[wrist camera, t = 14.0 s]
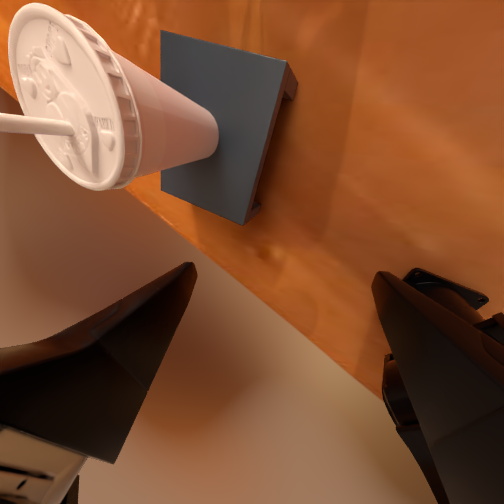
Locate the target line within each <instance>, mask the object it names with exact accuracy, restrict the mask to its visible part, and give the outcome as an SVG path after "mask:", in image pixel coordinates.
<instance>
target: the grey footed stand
mask: <svg viewBox="0 0 504 504" xmlns="http://www.w3.org/2000/svg"><path fill="white" fill-rule="evenodd" d="M161 82H163V83H165V84H166V85H168V86H169V87H171V88H172V89H174V90H176V91H177V92H179V93H180V94H182V95H184V96H185V97H187V98H188V99H190V100H192V101H193V102H195V103H196V104H198V105H200V106H201V107H203V108H204V109H206V110H207V111H209V112H210V113H211V114H212V116H213V117H214V119H215V121H216V123H217V126H218V131H219V140H218V145H217V148H216V150H215V151H214V153H213V154H212V155H211V156H209V157H207V158H204V159H200V160H197V161H193V162H189V163H186V164H182V165H179V166H175V167H172V168H168V169H165V170H161V191H164V192H166V193H168V194H171V195H173V196H175V197H178V198H180V199H182V200H184V201H187V202H189V203H191V204H194V205H196V206H198V207H201V208H203V209H205V210H208V211H210V212H212V213H215V214H217V215H219V216H221V217H224V218H226V219H228V220H231V221H233V222H235V223H238V224H240V225H242V226H243V225H245V224H246V223H247V222H248V221H250V220H251V219H252V218H253V217H255V216H256V215H257V214H258V212H259V209H260V206H261V204H259V203H256V202H254V197H255V194H256V190H257V186H258V183H259V179H260V176H261V172H262V169H263V165H264V161H265V158H266V154H267V151H268V147H269V143H270V140H271V136H272V133H273V129H274V126H275V122H276V118H277V115H278V111H279V108H280V104H281V101H282V98H285V99H289V100H293V98H294V95H295V91H296V88H297V85H298V82H297V80H296V78H295V76H294V74H293V72H292V70H291V68H290V66H289V64H288V62H287V61H285V60H281V59H277V58H273V57H268V56H264V55H260V54H256V53H252V52H248V51H244V50H240V49H236V48H232V47H228V46H224V45H220V44H216V43H212V42H208V41H204V40H200V39H196V38H192V37H188V36H183V35H179V34H175V33H171V32H167V31H163V30H161Z"/></svg>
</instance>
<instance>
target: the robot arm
mask: <svg viewBox="0 0 504 504" xmlns="http://www.w3.org/2000/svg"><path fill="white" fill-rule="evenodd" d="M418 272H420V274H418V275H416V274H415V273H418ZM196 280H197V271H196V268H195V265H194V263H193V262H185V263H183V264H181V265H179V266H178V267H176V268H174V269H172V270H171V271H169V272H167V273H166V274H164V275H162V276H160V277H159V278H157V279H155V280H154V281H152V282H150V283H148V284H147V285H145V286H143V287H141V288H140V289H138V290H136V291H135V292H133V293H131V294H130V295H128V296H126V297H124V298H123V299H121V300H119V301H117V302H116V303H114V304H112V305H110V306H108V307H107V308H105V309H103V310H101V311H99V312H98V313H96V314H94V315H92V316H90V317H88V318H86V319H84V320H83V321H80V322H78V323H76V324H74V325H72V326H70V327H69V328H67V329H65V330H63V331H61V332H59V333H57V334H55V335H53V336H51V337H49V338H46V339H43V340H40V341H37V342H33V343H29V344H24V345H17V346H11V347H5V348H0V504H78V490H79V475H78V473H79V471H80V470H81V468H82V466H83V465H84V463H85V461H86V460H87V458H88V457H89V458H92V459H96V460H99V461H103V462H107V463H110V464H114V463H115V461H116V459H117V457H118V455H119V453H120V451H121V449H122V446H123V444H124V442H125V440H126V438H127V436H128V434H129V431H130V429H131V427H132V425H133V423H134V421H135V419H136V416H137V414H138V412H139V410H140V408H141V406H142V403H143V401H144V399H145V397H146V395H147V391H148V390H149V388H150V386H151V384H152V381H153V379H154V377H155V375H156V373H157V370H158V368H159V366H160V364H161V362H162V360H163V357H164V355H165V353H166V351H167V349H168V347H169V344H170V342H171V340H172V338H173V336H174V334H175V331H176V329H177V327H178V325H179V323H180V321H181V318H182V316H183V314H184V312H185V310H186V308H187V305H188V303H189V301H190V297H191V295H192V291H193V289H194V285H195V283H196ZM371 288H372V293H373V297H374V301H375V304H376V309H377V312H378V316H379V320H380V322H381V325H382V328H383V330H384V333H385V336H386V338H387V341H388V343H389V346H390V348H391V351H392V354H391V353H390V354H387V355H385V360H384V371H383V381H382V395H383V400H384V402H385V405H386V407H387V410H388V412H389V414H390V416H391V418H392V420H393V422H394V423H395V425H396V431H397V433H398V434H399V435H400V437H401V438H402V439H403V441H404V442H405V444H406V445H407V447H408V448H409V449H410V451H411V453H412V454H413V456H414V458H415V459H416V461H417V463H418V464H419V466H420V468H421V470H422V472H423V473H424V476H425V478H426V480H427V482H428V484H429V486H430V488H431V490H432V492H433V494H434V496H435V498H436V500H437V502H438V504H504V314H503V313H502V312H501V313H498V314H495V315H493V316H492V318H490V319H487V320H484V319H483V317H482V316H481V315H480V314H479V313H478V312H477V311H476V310H478V309H479V308H480V307H482V306H483V305H485V304H486V303H487V302H488V301H489V298H488V297H487V296H486V295H484V294H482V293H480V292H477V291H475V290H472V289H470V288H467V287H465V286H462V285H460V284H457V283H455V282H453V281H450V280H448V279H445V278H443V277H440V276H438V275H435V274H433V273H430V272H428V271H425V270H423V269H420V268H415V269H413V270H411V271H410V272H409V273H408V274H407V275H406V277H405V278H404V279H403V280H400V279H399V278H397V277H396V276H394V275H393V274H391V273H389V272H386V271H378V272H377V273H376V275H375V277H374V280H373V282H372V287H371ZM479 298H482V299H480V300H478V299H479Z"/></svg>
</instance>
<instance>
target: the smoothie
mask: <svg viewBox="0 0 504 504" xmlns="http://www.w3.org/2000/svg"><path fill="white" fill-rule="evenodd" d="M8 57H9V64H10V70H11V76H12V79H13V83H14V87H15V91H16V94H17V97H18V100H19V102H20V105H21V108H22V110H23V112H24V114H25V116H20V115H12V114H4V113H0V132H13V133H28V134H34V135H35V136H36V138H37V140H38V141H39V143H40V144H41V146H42V148H43V149H44V150H45V152H46V153H47V154H48V156H49V157H50V158H51V160H52V161H53V162H54V163H55V164H56V165H57V167H58V168H59V169H60V170H61V171H62V172H63V173H64V174H66V175H67V176H68V177H69V178H70V179H72V180H73V181H75V182H76V183H78V184H79V185H81V186H83V187H85V188H88V189H91V190H97V191H101V190H108V189H120V188H123V187H125V186H127V185H128V184H130V183H131V182H132V181H133V179H134V178H136V177H140V176H144V175H148V174H151V173H154V172H158V171H161V170H165V169H168V168H172V167H175V166H179V165H182V164H186V163H189V162H193V161H197V160H200V159H204V158H207V157H209V156H211V155H212V154H213V153H214V151H215V150H216V148H217V145H218V140H219V131H218V126H217V123H216V121H215V119H214V117H213V116H212V114H211V113H210V112H209V111H207V110H206V109H204V108H203V107H201V106H200V105H198V104H196V103H195V102H193V101H192V100H190V99H188V98H187V97H185V96H184V95H182V94H180V93H179V92H177V91H176V90H174V89H172V88H171V87H169V86H168V85H166V84H165V83H163V82H161V81H160V80H158V79H157V78H155V77H153V76H152V75H150V74H149V73H147V72H145V71H144V70H142V69H141V68H139V67H137V66H136V65H134V64H133V63H132V62H130V61H128V60H127V59H125V58H123V57H122V56H120V55H119V54H117V53H115V52H114V51H112V50H111V49H110V48H109V46H108V45H107V43H106V42H105V40H104V39H103V38H102V37H101V36H99V35H98V34H97V33H96V32H95V31H94V30H93V29H92V28H91V27H90V26H89V25H88V24H87V23H85V22H83V21H81V20H79V19H77V18H75V17H73V16H71V15H69V14H67V15H64V14H62V13H61V12H59V11H57V10H56V9H54V8H52V7H50V6H48V5H45V4H41V3H30V4H27V5H25V6H23V7H22V8H21V9H20V10H19V11H18V12H17V13H16V14H15V16H14V18H13V21H12V23H11V26H10V31H9V38H8Z"/></svg>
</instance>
